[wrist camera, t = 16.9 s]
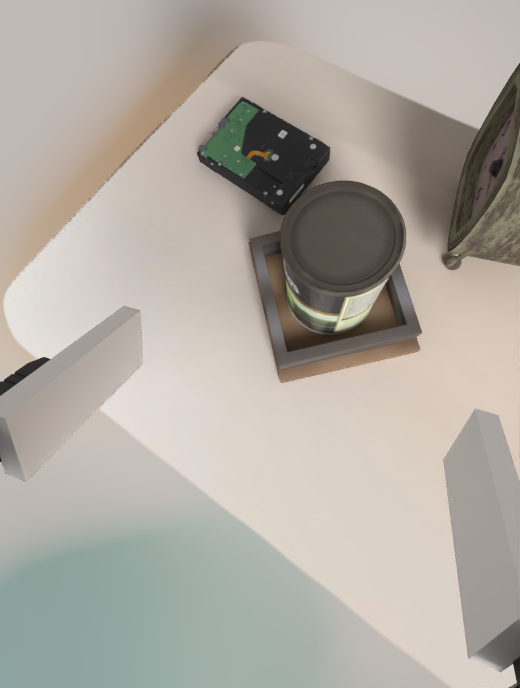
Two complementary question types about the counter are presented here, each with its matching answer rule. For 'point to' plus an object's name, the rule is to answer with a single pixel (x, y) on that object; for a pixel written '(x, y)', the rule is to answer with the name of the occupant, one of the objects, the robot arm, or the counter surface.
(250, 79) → the counter surface
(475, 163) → the tabletop clock
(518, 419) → the counter surface
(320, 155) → the disk drive
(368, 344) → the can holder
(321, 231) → the coffee can
